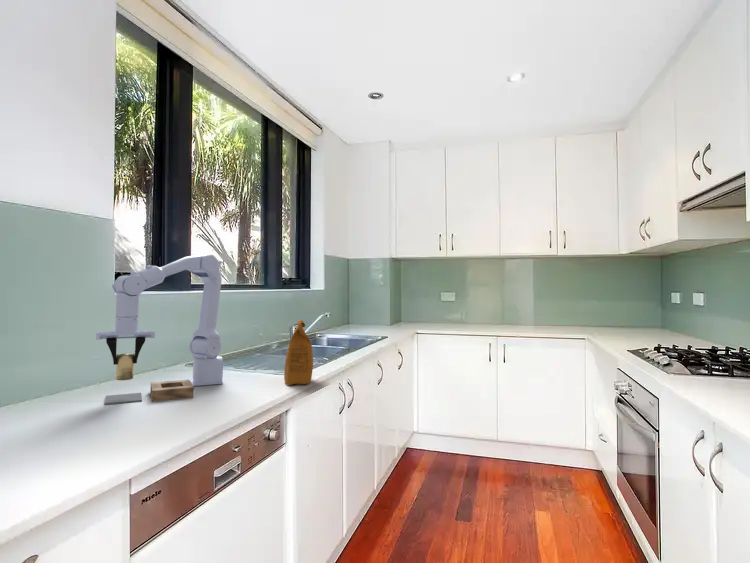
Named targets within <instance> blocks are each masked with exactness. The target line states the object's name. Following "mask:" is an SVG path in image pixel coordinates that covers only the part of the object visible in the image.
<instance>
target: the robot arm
mask: <svg viewBox="0 0 750 563" xmlns="http://www.w3.org/2000/svg"><path fill="white" fill-rule="evenodd" d="M220 268H221V262H220V260H219V259H218V258H217V257H216V256H215V255H214V254H209V253H208V254H191V255H189V256H188V255H187V256H184V257H182V258H181V257H180V258H179V259H177V260H174V261H172V262H169V263H168V264H165V265H163V266H160V267H159V266H157V265H152V264H147V265H145V268H143V269H141V270H138V271H135V270H133V271H131V272H130V274H129V275H120V276H118V277H117V278H116V279H115V280H114V283H113V284H112V290H113V292H114V293H115V294H116V297H115V298H116V299H115V300H116V301H115V322H114V323H115V324H114V330H113V331H111V330H110V331H97V332H96V335H95V337H96V340H97V341H98V340H106V341H105V343H106V344H107V347H108V349H109V351H110V354H111V357H112V362H113V365H116V363H117V348H118V347H117V343H118V339H135V342H134V343H135V344H134V347H135V348H134V364H137V362H138V357H139V354H140V352H141V350H142V348H143V346H144V344H145V343H146V338H147V339H148V338H150V339H154V338H156V337H155V336H156V331H155V330H139V312H140V310H139V309H140V295H141V294H142V293H143V292H144V291H145V290H148V289H149V288H152V287H154V286H157V285H159V284H162V283H163V282H164V280H165V278H166V277H169V276H172V275H174V274H178V273H180V272H183V271H189V272H190V273H191V274H193V275H195V276H196V277H198V278H199V279H200V280H201V281H202V282H203V291H202V299H201V305H200V307H201V308H200V313H199V314H200V315H199V322H198V328H197V329H196V330H195V331H194V333H193V334H192V339H191V340H190V342H189V347H188V348H189V351H190V353H191V354H192V357H193V362H192V363H193V364H192V365H193V367H192V379H189V380H190V382H191V383H192V385H193V387H195V386H196V387H198V386H210V385H221V384H223V375H224V374H223V373H224V372H223V371H224V361H223V360H224V359H223V357H222V356H219V354H220V353H221V351H222V343H221V335H220V334H219V332H218V331H217V320H218V312H219V306H220V303H219V302H220V297H221V296H220V295H221V288H222V275H221V270H220Z"/></svg>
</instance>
